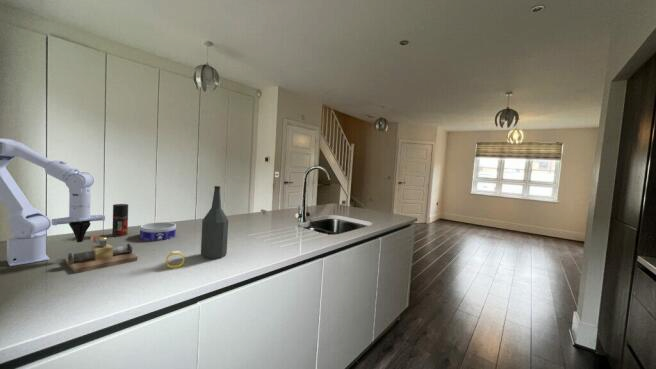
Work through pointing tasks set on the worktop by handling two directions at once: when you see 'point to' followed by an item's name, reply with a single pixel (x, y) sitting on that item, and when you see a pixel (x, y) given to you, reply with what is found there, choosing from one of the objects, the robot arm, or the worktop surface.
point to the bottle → (214, 230)
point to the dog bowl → (157, 231)
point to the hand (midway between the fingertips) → (79, 241)
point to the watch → (174, 254)
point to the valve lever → (98, 239)
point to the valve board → (101, 262)
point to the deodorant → (120, 220)
